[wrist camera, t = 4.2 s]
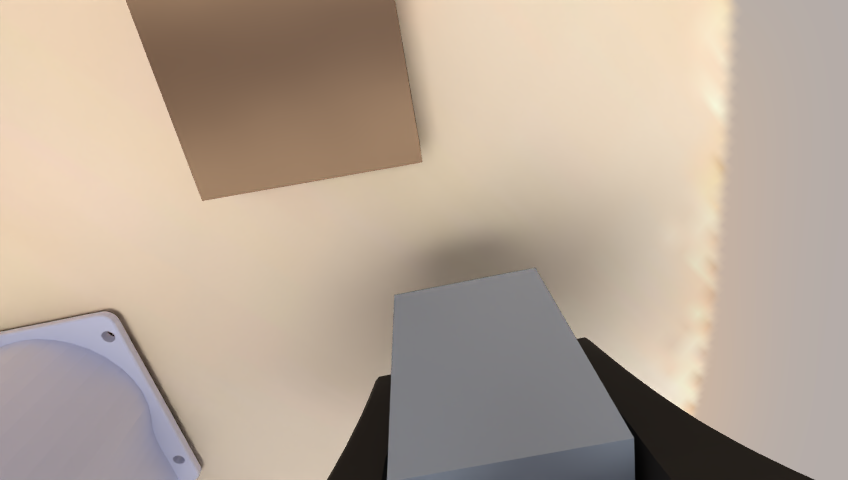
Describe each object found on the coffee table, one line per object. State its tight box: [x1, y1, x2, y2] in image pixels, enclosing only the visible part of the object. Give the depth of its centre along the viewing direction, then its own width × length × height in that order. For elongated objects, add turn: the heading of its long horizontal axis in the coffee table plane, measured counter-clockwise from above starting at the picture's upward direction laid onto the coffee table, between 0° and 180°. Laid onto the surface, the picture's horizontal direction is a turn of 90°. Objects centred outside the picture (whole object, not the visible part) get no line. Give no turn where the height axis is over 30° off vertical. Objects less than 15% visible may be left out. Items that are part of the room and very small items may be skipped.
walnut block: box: [126, 0, 422, 201], centre depth 14 cm, size 7×7×3 cm
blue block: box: [387, 268, 635, 480], centre depth 11 cm, size 4×4×6 cm
